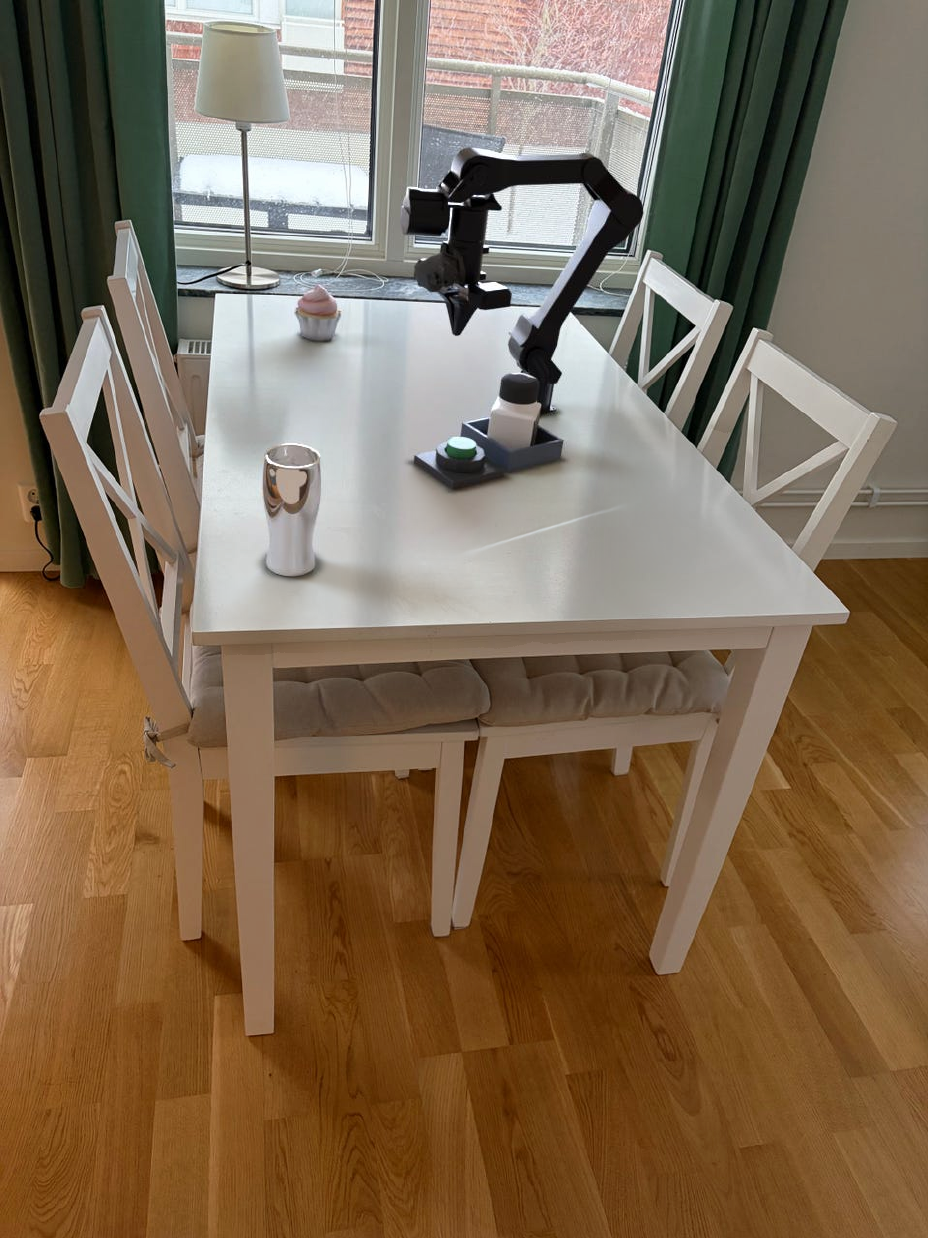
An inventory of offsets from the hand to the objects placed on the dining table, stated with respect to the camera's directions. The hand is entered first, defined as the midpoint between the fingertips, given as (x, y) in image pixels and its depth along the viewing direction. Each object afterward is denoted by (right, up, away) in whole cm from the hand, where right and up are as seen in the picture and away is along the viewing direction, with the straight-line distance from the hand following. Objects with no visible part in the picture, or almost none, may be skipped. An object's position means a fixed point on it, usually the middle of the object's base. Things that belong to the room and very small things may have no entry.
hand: (456, 334), depth 165 cm
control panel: (0, -24, -12) cm, 27 cm away
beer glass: (-21, -40, -39) cm, 60 cm away
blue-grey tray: (+9, -20, -4) cm, 22 cm away
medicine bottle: (+9, -20, -4) cm, 22 cm away
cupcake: (-27, +8, +30) cm, 41 cm away
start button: (+1, -22, -14) cm, 26 cm away
